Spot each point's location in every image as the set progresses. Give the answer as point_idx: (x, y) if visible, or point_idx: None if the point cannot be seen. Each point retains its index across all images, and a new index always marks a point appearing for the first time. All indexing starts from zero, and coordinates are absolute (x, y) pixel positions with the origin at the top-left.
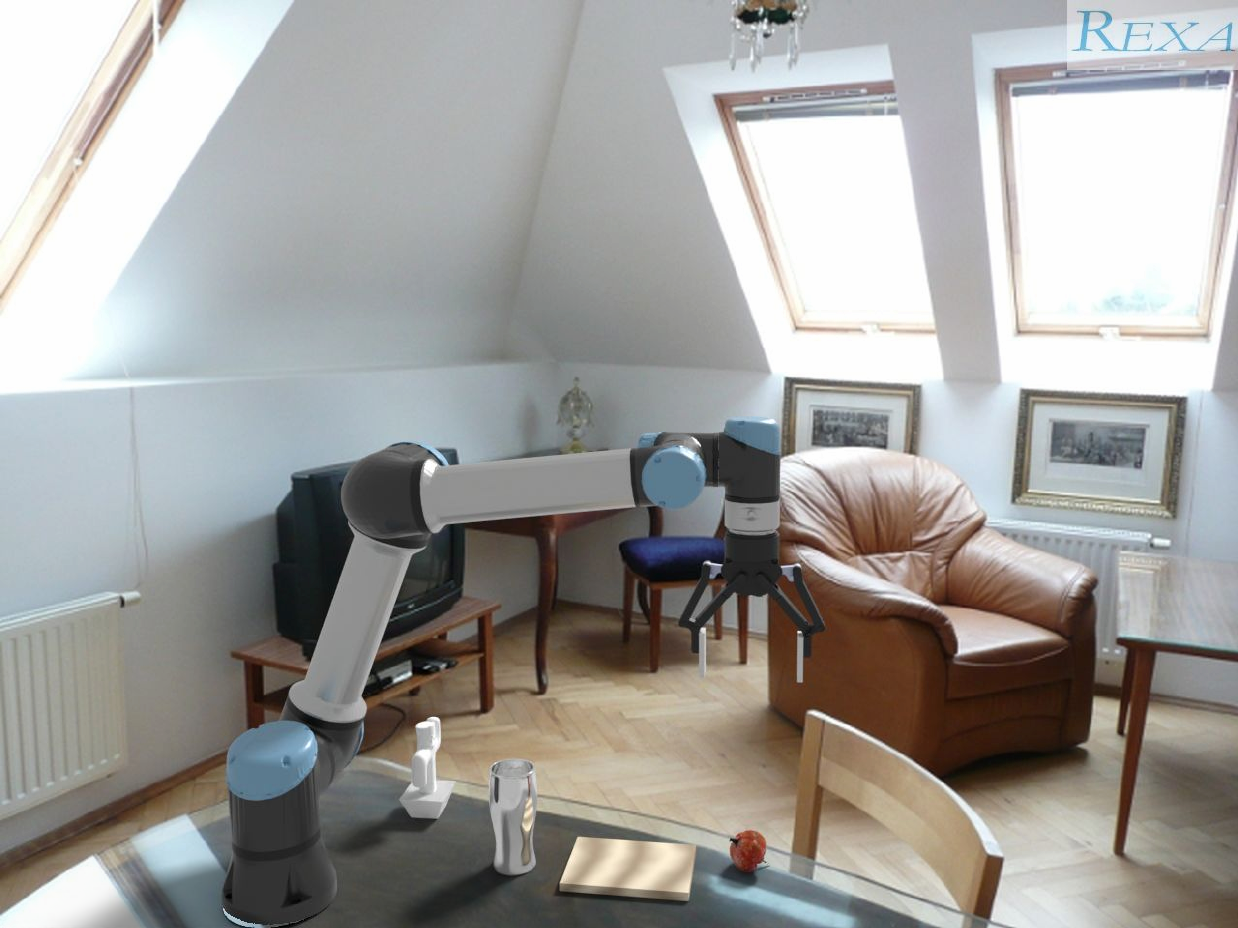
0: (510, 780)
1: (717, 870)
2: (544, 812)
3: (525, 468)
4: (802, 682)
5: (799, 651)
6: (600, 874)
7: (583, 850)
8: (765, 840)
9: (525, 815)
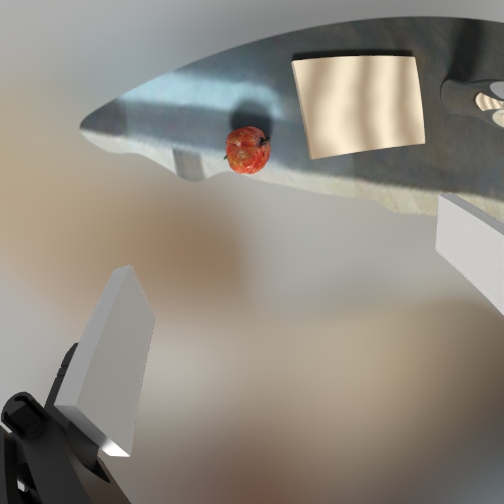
0: None
1: (277, 128)
2: (453, 191)
3: None
4: (115, 269)
5: (89, 346)
6: (387, 76)
7: (414, 117)
8: (229, 162)
9: (481, 84)
